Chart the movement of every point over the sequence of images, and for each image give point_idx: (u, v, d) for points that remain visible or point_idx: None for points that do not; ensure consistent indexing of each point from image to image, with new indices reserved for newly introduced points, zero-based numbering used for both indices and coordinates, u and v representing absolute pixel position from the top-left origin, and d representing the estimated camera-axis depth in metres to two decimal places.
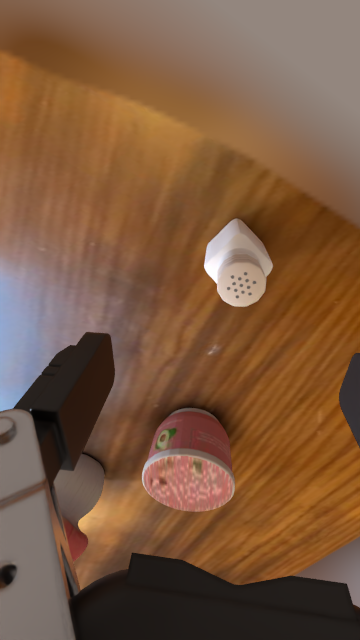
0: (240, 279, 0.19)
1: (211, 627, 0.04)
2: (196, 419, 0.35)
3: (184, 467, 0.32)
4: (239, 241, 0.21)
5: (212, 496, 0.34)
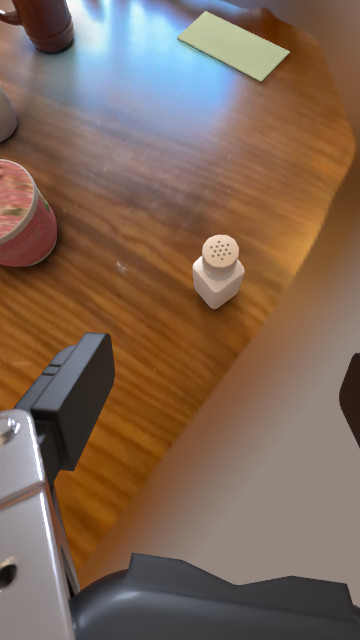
0: (225, 250, 0.26)
1: (211, 627, 0.04)
2: (51, 236, 0.35)
3: (14, 200, 0.31)
4: (239, 268, 0.29)
5: None
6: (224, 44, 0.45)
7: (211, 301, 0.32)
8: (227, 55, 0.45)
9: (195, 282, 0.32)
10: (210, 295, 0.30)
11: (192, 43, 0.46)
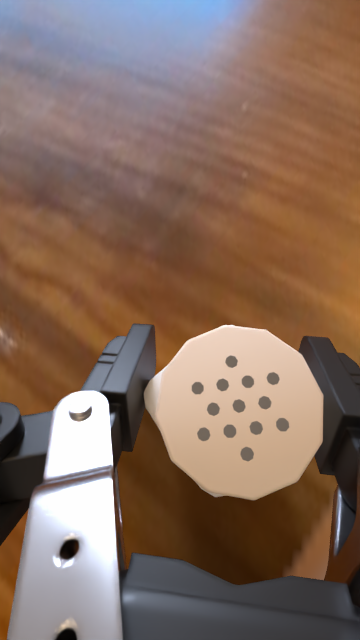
0: (261, 405, 0.06)
1: (211, 627, 0.04)
2: None
3: None
4: None
5: None
6: None
7: None
8: None
9: None
10: None
11: None
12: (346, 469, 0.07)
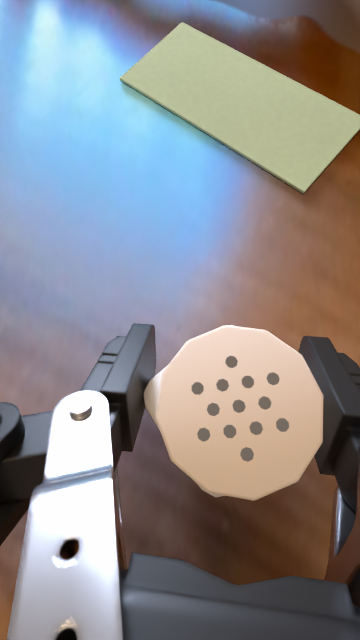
0: (261, 406, 0.06)
1: (211, 627, 0.04)
2: None
3: None
4: None
5: None
6: (220, 97, 0.21)
7: None
8: (226, 122, 0.20)
9: None
10: None
11: (151, 92, 0.21)
12: (346, 469, 0.07)
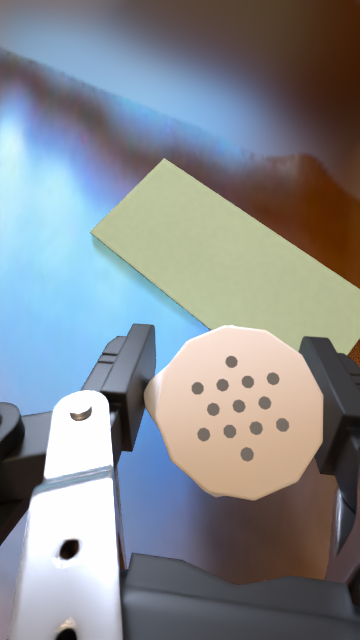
0: (261, 405, 0.06)
1: (211, 627, 0.04)
2: None
3: None
4: None
5: None
6: (207, 265, 0.17)
7: None
8: (214, 301, 0.17)
9: None
10: None
11: (126, 253, 0.18)
12: (346, 469, 0.07)
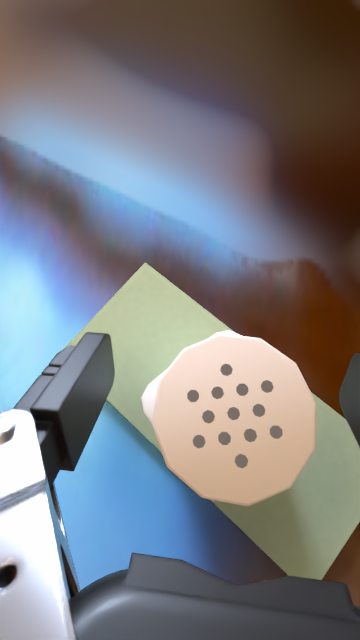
0: (255, 413, 0.06)
1: (211, 627, 0.04)
2: None
3: None
4: None
5: None
6: None
7: None
8: None
9: None
10: None
11: None
12: None
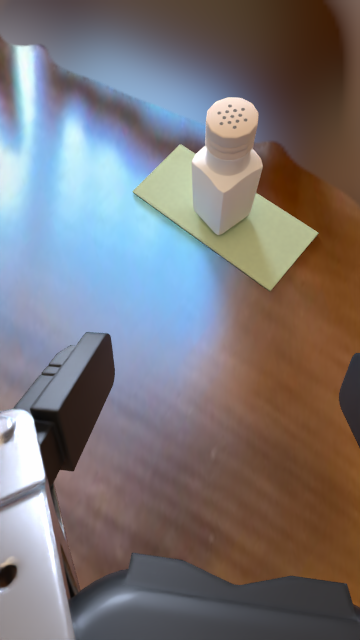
0: (239, 115, 0.18)
1: (211, 627, 0.04)
2: None
3: None
4: (255, 160, 0.21)
5: None
6: None
7: (216, 216, 0.24)
8: (213, 232, 0.27)
9: (195, 193, 0.24)
10: (215, 203, 0.22)
11: (157, 204, 0.28)
12: None
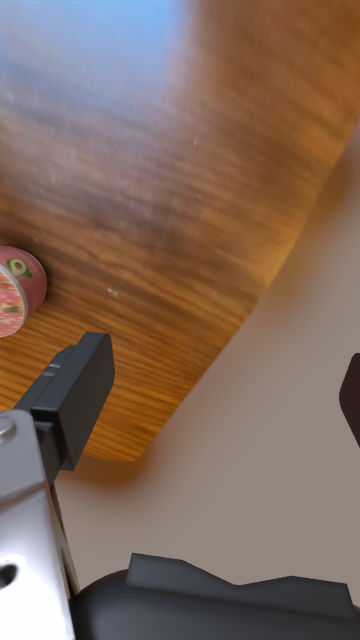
0: None
1: (211, 627, 0.04)
2: (43, 287, 0.39)
3: (5, 298, 0.34)
4: None
5: None
6: None
7: None
8: None
9: None
10: None
11: None
12: None
